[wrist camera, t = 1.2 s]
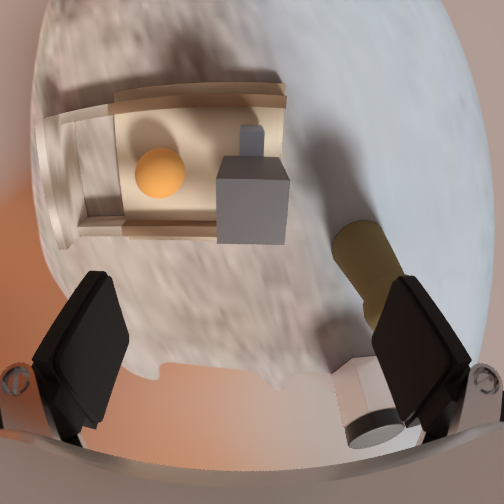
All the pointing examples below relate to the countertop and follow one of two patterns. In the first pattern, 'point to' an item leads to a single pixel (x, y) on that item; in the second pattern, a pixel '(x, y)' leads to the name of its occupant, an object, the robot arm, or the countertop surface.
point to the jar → (365, 403)
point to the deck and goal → (150, 137)
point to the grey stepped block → (251, 194)
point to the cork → (367, 265)
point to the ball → (159, 173)
